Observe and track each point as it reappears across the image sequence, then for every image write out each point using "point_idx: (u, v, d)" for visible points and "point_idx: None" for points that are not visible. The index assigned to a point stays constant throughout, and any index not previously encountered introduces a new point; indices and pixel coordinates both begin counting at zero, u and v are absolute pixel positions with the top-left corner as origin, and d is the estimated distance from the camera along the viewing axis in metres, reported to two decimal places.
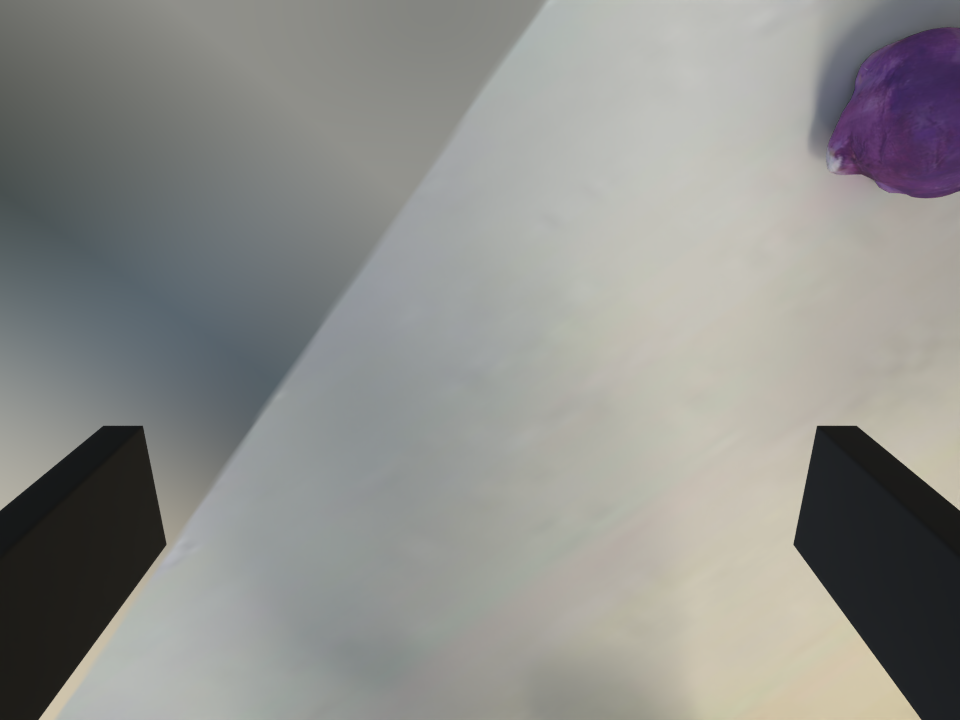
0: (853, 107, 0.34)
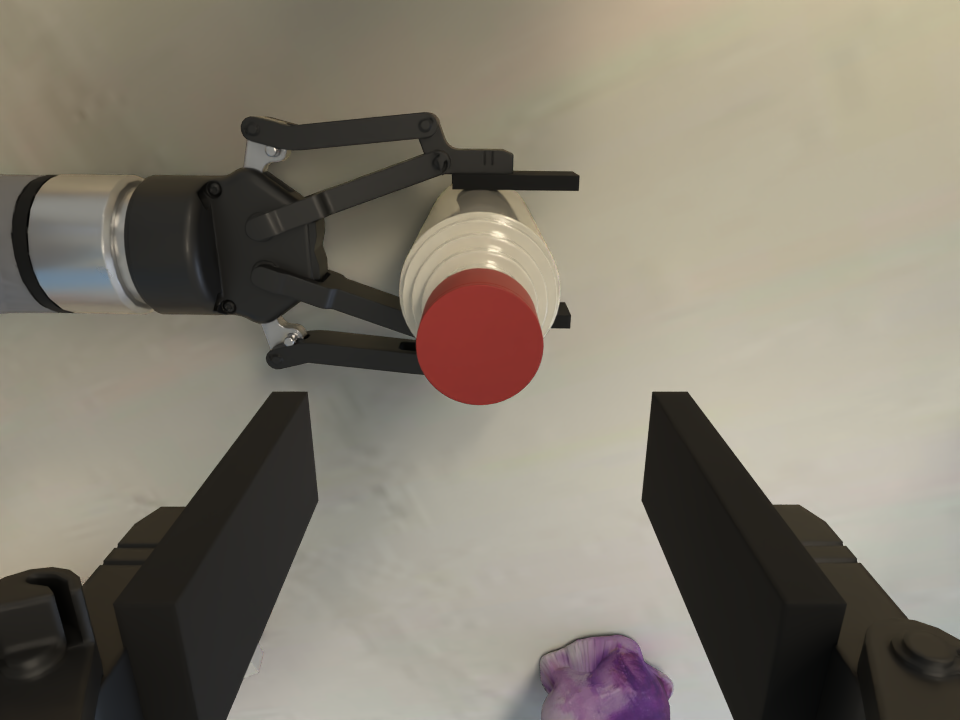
0: None
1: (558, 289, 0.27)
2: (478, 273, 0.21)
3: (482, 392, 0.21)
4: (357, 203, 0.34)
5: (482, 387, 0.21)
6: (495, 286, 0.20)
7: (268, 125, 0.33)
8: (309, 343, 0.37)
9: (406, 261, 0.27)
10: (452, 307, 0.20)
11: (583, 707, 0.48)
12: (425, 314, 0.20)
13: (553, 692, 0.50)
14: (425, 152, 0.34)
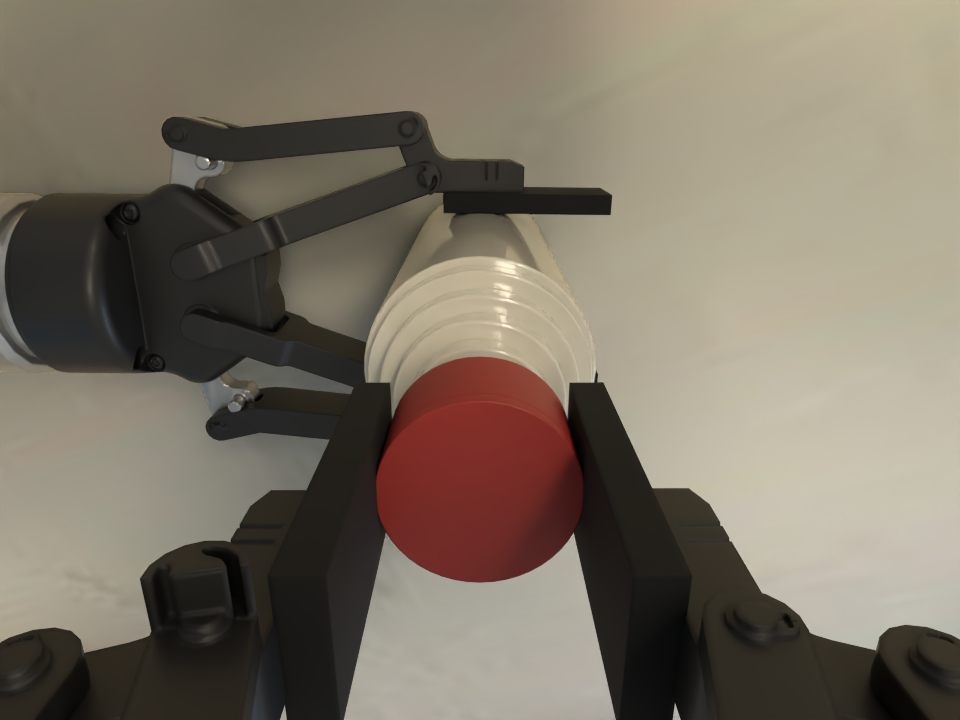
0: None
1: (593, 365, 0.19)
2: (477, 370, 0.13)
3: (484, 564, 0.13)
4: (318, 231, 0.26)
5: (484, 557, 0.13)
6: (506, 403, 0.12)
7: (198, 128, 0.24)
8: (260, 408, 0.29)
9: (374, 326, 0.18)
10: (434, 436, 0.12)
11: None
12: (389, 447, 0.12)
13: None
14: (408, 164, 0.25)
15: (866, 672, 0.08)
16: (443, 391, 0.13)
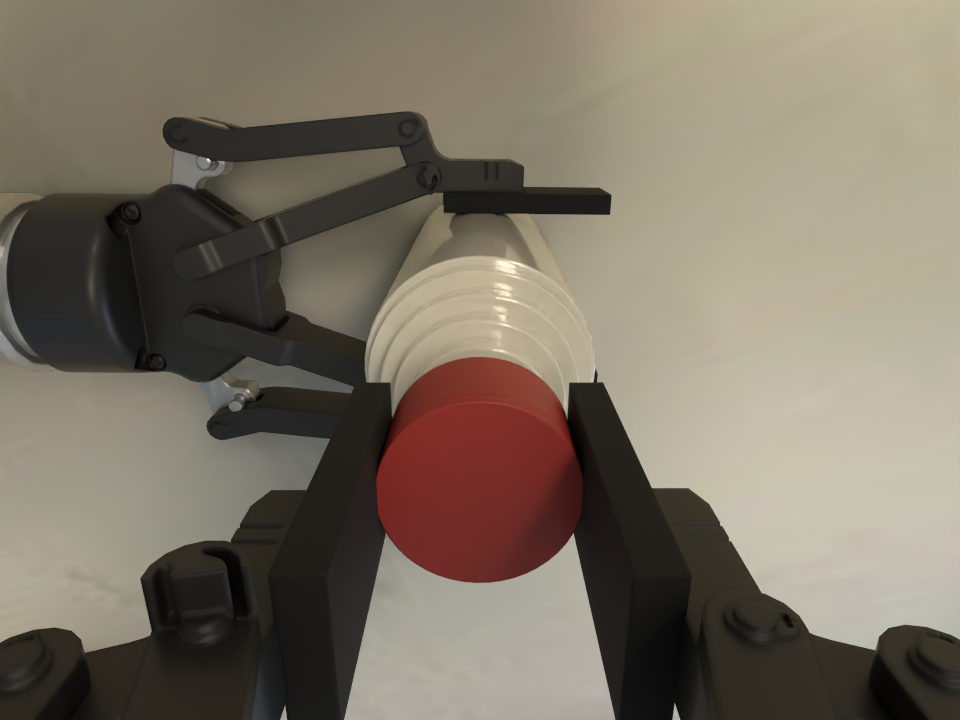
0: None
1: (592, 364, 0.19)
2: None
3: (561, 496, 0.13)
4: (319, 231, 0.26)
5: (552, 495, 0.13)
6: (377, 470, 0.12)
7: (199, 129, 0.25)
8: (261, 407, 0.29)
9: (374, 325, 0.18)
10: (411, 531, 0.13)
11: None
12: (423, 567, 0.13)
13: None
14: (408, 164, 0.26)
15: (866, 672, 0.08)
16: None
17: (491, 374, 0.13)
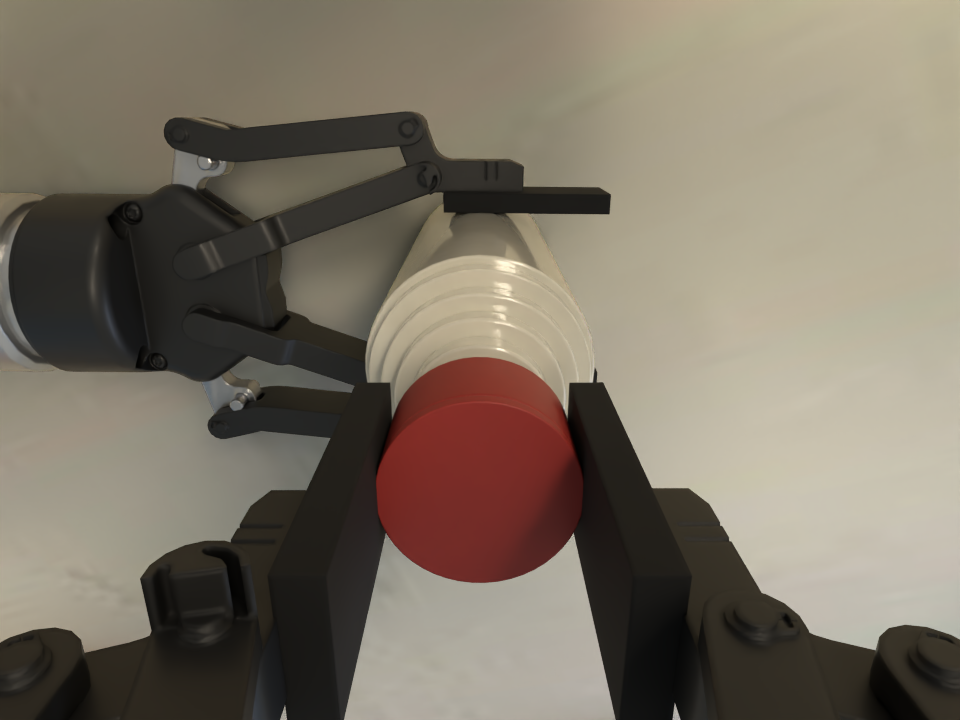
0: None
1: (591, 362, 0.19)
2: None
3: (481, 424, 0.12)
4: (320, 230, 0.26)
5: (481, 432, 0.12)
6: (447, 577, 0.13)
7: (200, 129, 0.25)
8: (262, 407, 0.29)
9: (375, 324, 0.19)
10: (516, 556, 0.13)
11: None
12: (559, 549, 0.13)
13: None
14: (408, 164, 0.26)
15: (866, 672, 0.08)
16: None
17: None
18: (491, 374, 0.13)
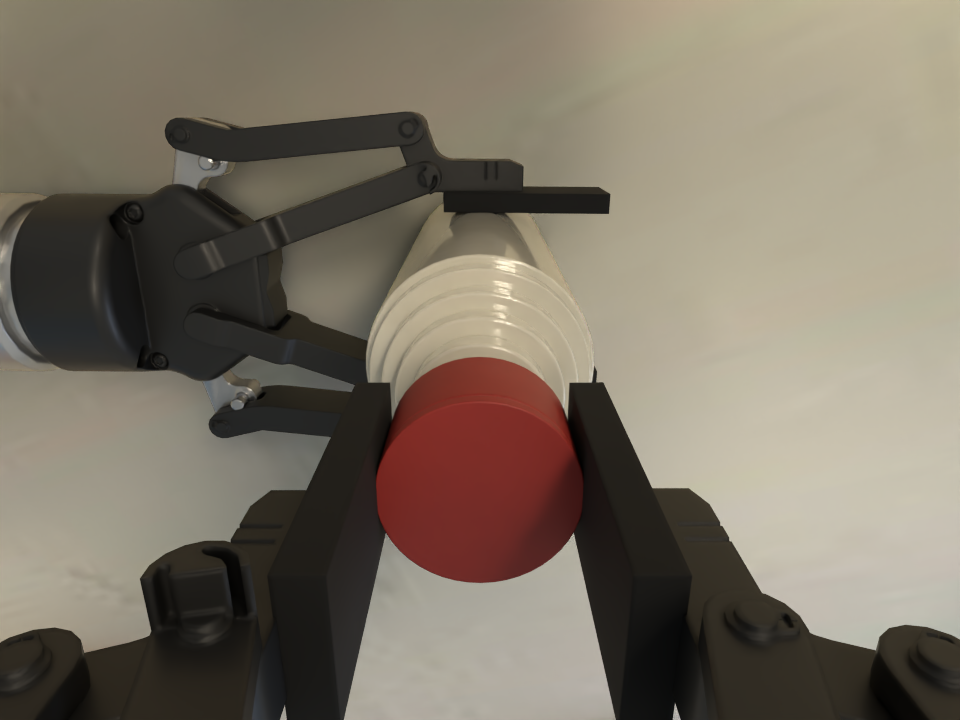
0: None
1: (591, 361, 0.19)
2: None
3: (398, 492, 0.13)
4: (320, 230, 0.26)
5: (407, 493, 0.13)
6: (575, 528, 0.13)
7: (201, 129, 0.25)
8: (263, 406, 0.29)
9: (375, 323, 0.19)
10: (553, 466, 0.12)
11: None
12: (548, 424, 0.12)
13: None
14: (408, 164, 0.26)
15: (866, 672, 0.08)
16: None
17: None
18: None
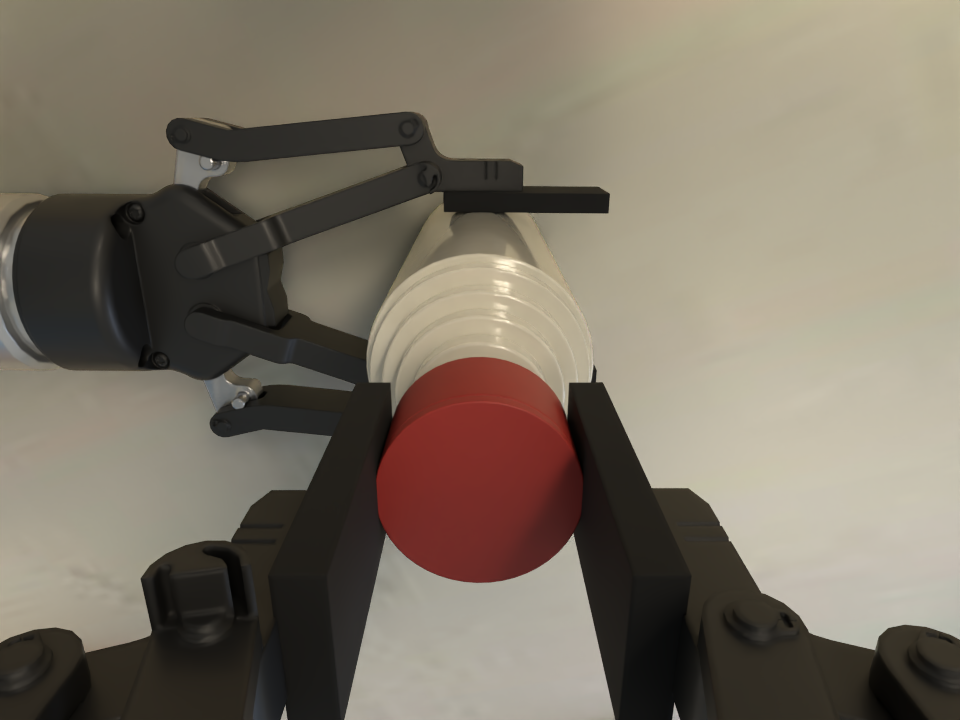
0: None
1: (590, 360, 0.19)
2: (494, 371, 0.13)
3: (471, 564, 0.13)
4: (321, 230, 0.26)
5: (472, 557, 0.13)
6: (523, 408, 0.12)
7: (202, 129, 0.25)
8: (264, 405, 0.29)
9: (376, 322, 0.19)
10: (446, 430, 0.12)
11: None
12: (399, 434, 0.12)
13: None
14: (408, 164, 0.26)
15: (865, 672, 0.08)
16: (460, 387, 0.13)
17: None
18: None
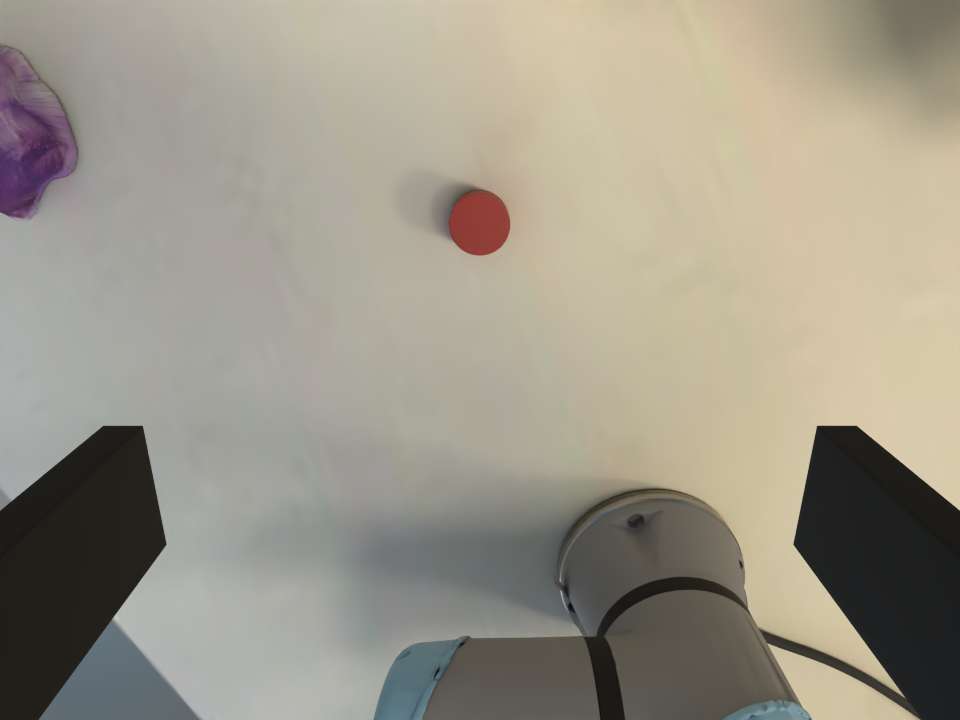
0: None
1: None
2: (484, 191, 0.44)
3: (477, 248, 0.44)
4: None
5: (477, 245, 0.44)
6: (491, 196, 0.43)
7: None
8: None
9: None
10: (470, 203, 0.43)
11: None
12: (457, 204, 0.43)
13: None
14: None
15: None
16: (474, 193, 0.44)
17: None
18: None
